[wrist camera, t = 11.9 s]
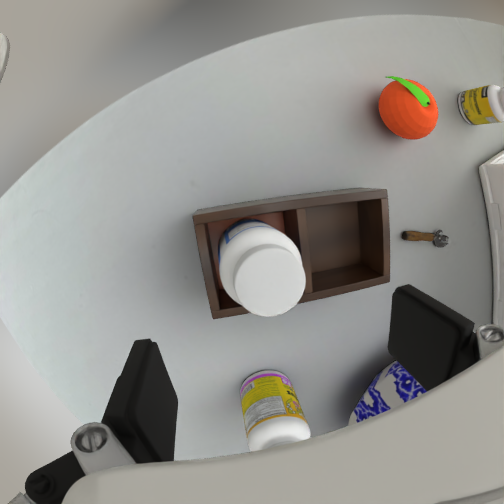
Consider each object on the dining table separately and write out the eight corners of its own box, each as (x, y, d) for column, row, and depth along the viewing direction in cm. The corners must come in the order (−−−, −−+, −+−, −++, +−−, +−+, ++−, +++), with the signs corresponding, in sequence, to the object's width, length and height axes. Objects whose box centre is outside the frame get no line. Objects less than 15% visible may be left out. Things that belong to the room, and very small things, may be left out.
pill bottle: (263, 286, 29) (290, 341, 18) (208, 265, 28) (205, 312, 17) (289, 231, 28) (333, 259, 17) (233, 206, 27) (244, 220, 16)
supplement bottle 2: (455, 86, 27) (501, 74, 18) (475, 99, 28) (519, 91, 18) (458, 119, 28) (508, 112, 19) (478, 129, 29) (525, 126, 19)
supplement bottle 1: (293, 398, 34) (321, 470, 22) (245, 409, 34) (259, 485, 21) (286, 361, 33) (319, 438, 20) (234, 374, 32) (245, 456, 20)
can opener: (400, 238, 31) (405, 240, 29) (403, 219, 30) (409, 221, 29) (445, 248, 32) (450, 250, 31) (448, 232, 32) (454, 233, 30)
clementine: (350, 107, 26) (384, 90, 20) (376, 71, 26) (410, 52, 19) (398, 154, 28) (438, 150, 21) (420, 116, 28) (458, 108, 21)
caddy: (197, 209, 27) (192, 215, 22) (359, 187, 29) (387, 189, 23) (212, 295, 29) (212, 319, 24) (364, 266, 31) (389, 282, 25)
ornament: (313, 502, 22) (427, 380, 18) (321, 413, 41) (384, 314, 37) (428, 516, 18) (529, 413, 15) (408, 440, 37) (471, 353, 34)
